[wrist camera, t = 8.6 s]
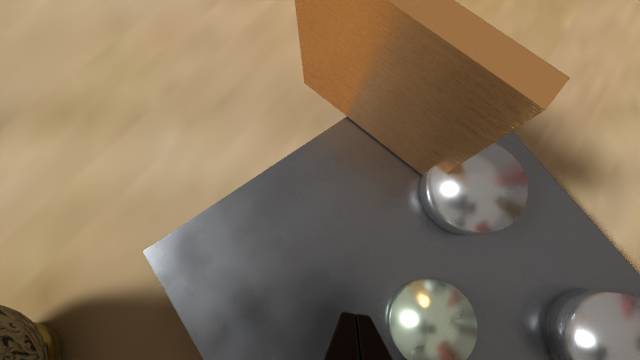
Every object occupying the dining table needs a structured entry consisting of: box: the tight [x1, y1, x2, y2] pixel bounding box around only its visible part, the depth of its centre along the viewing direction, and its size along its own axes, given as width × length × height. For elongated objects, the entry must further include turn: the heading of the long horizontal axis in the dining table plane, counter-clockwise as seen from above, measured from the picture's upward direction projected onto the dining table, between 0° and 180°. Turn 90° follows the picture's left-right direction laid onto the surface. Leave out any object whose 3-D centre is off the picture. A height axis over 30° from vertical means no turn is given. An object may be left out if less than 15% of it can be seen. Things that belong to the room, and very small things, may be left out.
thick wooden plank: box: [295, 0, 570, 235], centre depth 13 cm, size 13×4×9 cm, turn 49°
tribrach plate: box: [143, 117, 640, 360], centre depth 16 cm, size 20×20×4 cm
